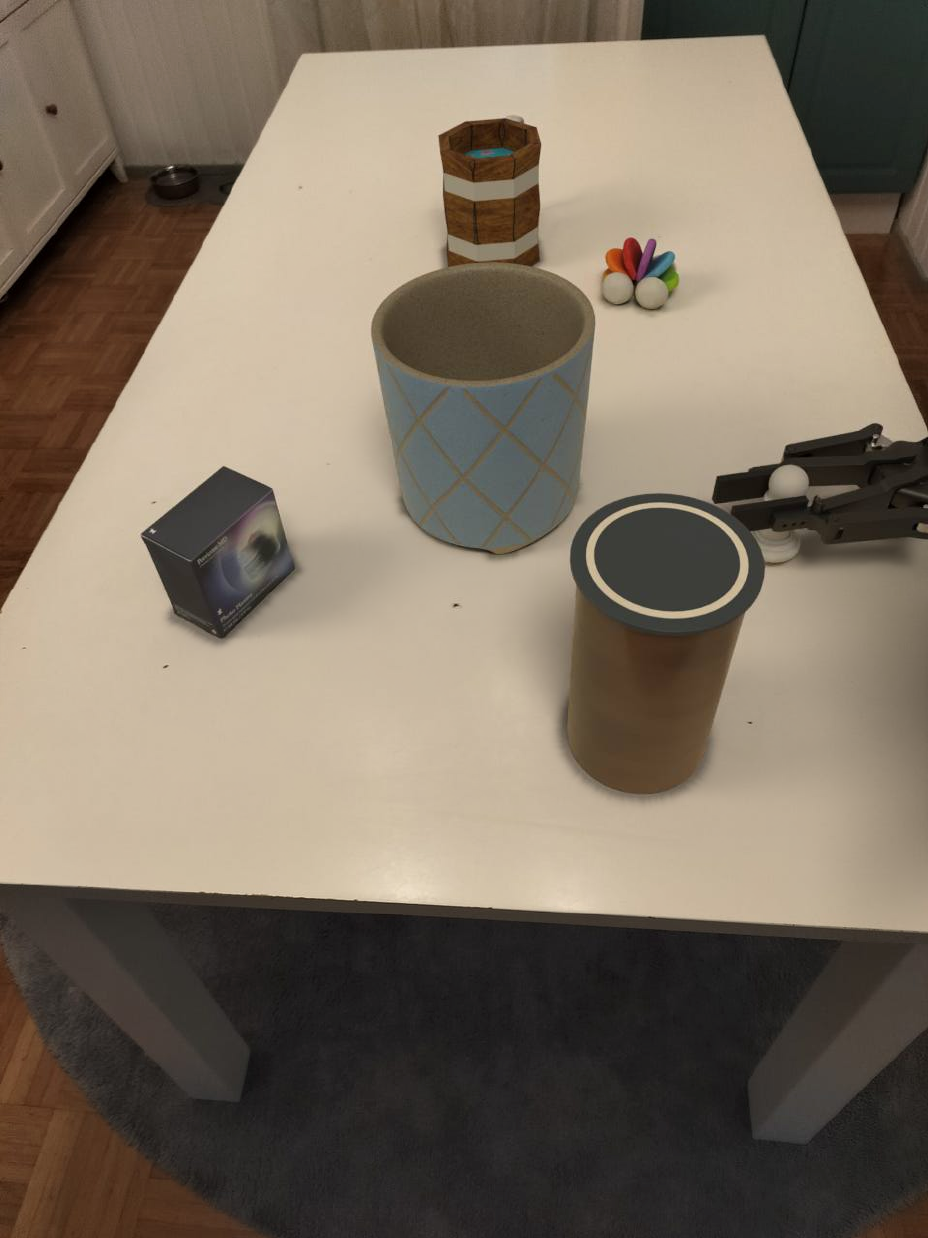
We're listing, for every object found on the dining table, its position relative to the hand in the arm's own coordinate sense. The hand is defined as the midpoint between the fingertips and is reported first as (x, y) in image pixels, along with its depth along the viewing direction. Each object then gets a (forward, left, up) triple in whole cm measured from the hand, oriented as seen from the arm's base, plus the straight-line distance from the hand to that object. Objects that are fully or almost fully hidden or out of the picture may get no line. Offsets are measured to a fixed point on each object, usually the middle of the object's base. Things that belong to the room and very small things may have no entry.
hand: (723, 505), depth 77 cm
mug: (+63, -11, -7) cm, 65 cm away
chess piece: (-2, -5, -6) cm, 8 cm away
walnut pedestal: (-13, +17, -7) cm, 22 cm away
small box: (+18, +41, -7) cm, 45 cm away
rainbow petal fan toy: (+42, -20, -7) cm, 48 cm away
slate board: (-13, +17, +13) cm, 25 cm away
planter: (+18, +14, -7) cm, 24 cm away
